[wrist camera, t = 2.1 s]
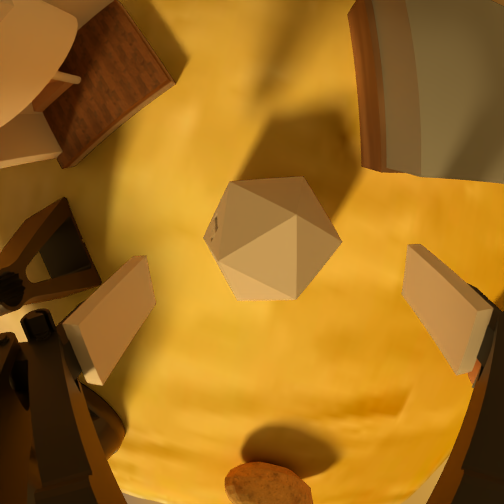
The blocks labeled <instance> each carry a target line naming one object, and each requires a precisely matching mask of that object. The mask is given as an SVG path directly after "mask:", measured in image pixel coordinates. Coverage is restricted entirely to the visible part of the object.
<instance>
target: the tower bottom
mask: <svg viewBox="0 0 504 504" xmlns="http://www.w3.org/2000/svg"><path fill="white" fill-rule="evenodd" d="M348 20H349V26H350V33H351V40H352V47H353V55H354V63H355V72H356V82H357V93H358V105H359V119H360V137H361V164H362V167H365V168H368V169H372V170H375V171H378V172H387V173H405V172H401V171H397V170H393V169H389V168H387V153H386V119H385V101H384V87H383V76H382V66H381V57H380V49H379V41H378V34H377V28H376V21H375V15H374V10H373V4H372V0H357V1H356V2H355V4H354V5H353V7H352V8H351V10H350V11H349V13H348Z"/></svg>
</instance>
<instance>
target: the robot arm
mask: <svg viewBox="0 0 504 504" xmlns="http://www.w3.org/2000/svg"><path fill="white" fill-rule="evenodd" d="M402 295H403V297H404V298H405V299H406V301H407V302H408V304H409V305H410V306H411V308H412V309H413V311H414V312H415V313H416V315H417V316H418V318H419V319H420V321H421V322H422V323H423V325H424V326H425V328H426V329H427V331H428V332H429V334H430V335H431V337H432V338H433V340H434V341H435V343H436V344H437V346H438V347H439V349H440V350H441V352H442V353H443V355H444V357H445V358H446V360H447V361H448V363H449V364H450V366H451V368H452V369H453V371H454V372H455V374H456V375H460V374H464V373H468V372H472V370H473V367H474V365H475V362H476V359H478V360H479V362H480V363H481V367H480V369H479V372H478V374H477V377H476V379H475V381H474V383H473V386H472V388H474V390H473V393H472V396H471V400H470V403H469V406H468V409H467V412H466V415H465V418H464V421H463V423H462V426H461V429H460V432H459V434H458V437H457V439H456V442H455V444H454V447H453V449H452V452H451V454H450V456H449V459H448V461H447V463H446V465H445V467H444V470H443V472H442V474H441V476H440V478H439V480H438V482H437V484H436V486H435V488H434V490H433V492H432V494H431V496H430V498H429V499H428V501H427V503H426V504H504V311H503V312H502V311H501V310H500V309H499V308H498V307H497V306H496V305H495V304H494V303H492V302H491V301H490V300H488V298H487V297H486V296H485V295H483V293H482V292H481V291H479V290H478V289H477V288H476V287H474V286H472V285H470V284H468V283H466V282H465V281H464V280H462V279H461V278H460V277H459V276H458V275H457V274H456V273H454V272H453V271H452V270H451V269H450V268H449V267H448V266H446V265H445V264H444V263H443V262H442V261H441V260H439V259H438V258H437V257H436V256H435V255H433V254H432V253H431V252H430V251H428V250H427V249H426V248H425V247H424V246H422V245H421V244H411V245H408V246H407V256H406V265H405V274H404V281H403V289H402ZM155 304H156V301H155V296H154V291H153V287H152V282H151V277H150V272H149V267H148V262H147V257H146V256H133V257H132V258H131V259H130V260H128V261H127V262H126V263H125V264H124V265H123V266H122V267H121V268H120V269H119V270H117V271H116V272H115V273H114V274H113V275H112V276H111V277H110V278H109V279H108V280H107V281H106V282H105V283H103V284H102V285H101V286H100V287H99V288H98V289H97V290H96V291H95V292H94V293H93V294H92V295H91V296H90V297H89V298H88V299H87V300H85V301H83V302H82V303H80V304H79V305H78V306H77V307H76V308H75V309H74V310H73V311H72V312H71V313H70V314H68V316H66V317H65V318H64V319H63V320H62V321H61V322H60V323H59V324H58V325H57V326H56V327H55V324H54V321H53V319H52V316H51V313H50V311H49V310H48V309H37V310H34V311H31V312H29V313H28V314H26V315H25V316H24V317H23V318H22V319H21V321H20V323H21V325H22V328H23V330H24V332H25V335H26V337H27V339H28V342H21V343H19V342H18V340H17V338H16V336H15V334H14V333H12V332H6V333H1V334H0V504H127V502H126V501H125V498H124V496H123V494H122V492H121V490H120V488H119V486H118V484H117V482H116V479H115V477H114V475H113V473H112V471H111V468H110V466H109V464H108V461H107V460H108V459H109V458H110V457H111V456H112V455H113V454H114V453H115V452H117V451H118V449H119V448H120V446H121V443H122V441H123V439H124V436H125V430H124V426H123V424H122V422H121V420H120V418H119V417H118V415H117V414H116V413H115V411H114V410H113V409H112V408H111V407H110V406H109V405H108V404H107V403H106V402H105V401H104V400H103V399H102V398H101V397H99V396H98V395H97V394H96V393H94V392H93V391H92V390H90V389H89V388H87V387H86V386H84V385H83V384H81V383H80V382H79V380H78V378H77V377H78V376H79V375H80V373H81V372H82V373H83V375H84V377H85V379H86V381H87V383H91V384H96V385H102V386H103V385H104V383H105V381H106V380H107V378H108V377H109V375H110V373H111V372H112V370H113V369H114V367H115V365H116V364H117V362H118V361H119V359H120V358H121V356H122V354H123V353H124V351H125V350H126V348H127V347H128V345H129V344H130V342H131V341H132V339H133V338H134V336H135V334H136V333H137V331H138V330H139V328H140V327H141V325H142V324H143V322H144V321H145V319H146V318H147V316H148V315H149V313H150V312H151V310H152V309H153V307H154V306H155Z"/></svg>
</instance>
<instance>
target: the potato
mask: <svg viewBox="0 0 504 504" xmlns="http://www.w3.org/2000/svg"><path fill="white" fill-rule="evenodd" d="M225 491H226V494H227V496H228V498H229V499H230V501H231V502H232V503H233V504H313V500H312V495H311V488H310V487H309V486H308V485H307V484H306V483H305V482H304V481H303V480H302V479H300V478H299V477H298V476H297V475H296V474H295V473H294V472H293V471H291V470H289V469H288V468H285V467H281V466H277V465H273V464H269V463H264V462H250V463H246V464H242V465H239V466H237V467H235V468H233V469H231V470H230V472H229V473H228V475H227V476H226V478H225Z"/></svg>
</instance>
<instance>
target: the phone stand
mask: <svg viewBox="0 0 504 504" xmlns="http://www.w3.org/2000/svg"><path fill="white" fill-rule="evenodd" d="M38 251H39V252H40V254H41V256H42V259H43V261H44V263H45V265H46V267H47V270H48V272H49V274H50V276H51V278H52V279H49V280H45V281H41V282H38V283H31V282H30V281H29V280H28V279H27V277H26V273H25V270H26V267H27V265H28V264H29V262H30V261H31V260H32V259H33V257H34V256H35V255H36V254H37V253H38ZM101 284H102V281H101V279H100V277H99V275H98V272H97V270H96V268H95V266H94V264H93V262H92V259H91V257H90V255H89V253H88V250H87V248H86V246H85V243H83V242H82V236H81V234H80V232H79V229H78V227H77V224H76V222H75V219H74V217H73V214H72V211H71V209H70V206H69V203H68V201H67V199H66V198H65V197H63V198H62V199H60V200H58V201H56V202H55V203H53V204H51V205H49V206H48V207H46V208H44V209H43V210H41V211H39V212H38V213H36V214H34V215H33V216H31V217H30V218H28V219H26V220H25V222H24V223H23V224H22V225H21V227H20V228H19V229H18V230H17V232H16V233H15V234H14V235H13V237H12V238H11V239H10V241H9V242H8V243H7V245H6V246H5V247H4V249H3V250H2V252H1V253H0V316H2V315H4V314H7V313H10V312H13V311H16V310H18V309H20V308H21V307H22V306H23V305H28V304H33V303H39V302H44V301H49V300H54V299H59V298H63V297H66V296H69V295H72V294H75V293H78V292H81V291H84V290H87V289H90V288H93V287H96V286H100V285H101Z"/></svg>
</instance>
